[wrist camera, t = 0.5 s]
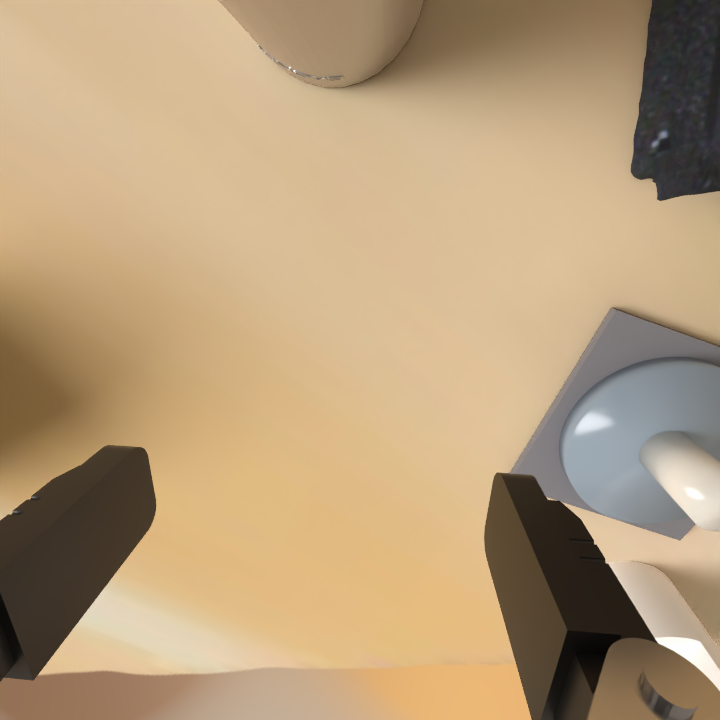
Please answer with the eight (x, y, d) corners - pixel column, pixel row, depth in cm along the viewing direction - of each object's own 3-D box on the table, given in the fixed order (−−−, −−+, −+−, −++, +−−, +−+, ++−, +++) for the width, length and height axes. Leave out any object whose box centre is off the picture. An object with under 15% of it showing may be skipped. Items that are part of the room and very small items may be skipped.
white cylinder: (606, 648, 36) (699, 846, 25) (537, 599, 35) (604, 790, 24) (697, 598, 33) (848, 801, 22) (626, 543, 32) (751, 732, 21)
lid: (622, 330, 24) (696, 375, 18) (795, 392, 25) (921, 455, 19) (527, 478, 29) (562, 552, 23) (676, 527, 30) (747, 611, 24)
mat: (611, 307, 25) (616, 310, 24) (813, 380, 25) (822, 384, 25) (506, 479, 30) (508, 484, 29) (675, 534, 31) (680, 540, 30)
